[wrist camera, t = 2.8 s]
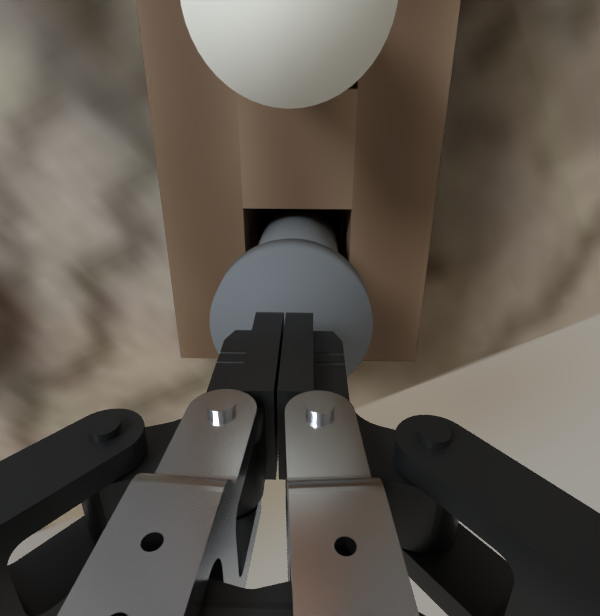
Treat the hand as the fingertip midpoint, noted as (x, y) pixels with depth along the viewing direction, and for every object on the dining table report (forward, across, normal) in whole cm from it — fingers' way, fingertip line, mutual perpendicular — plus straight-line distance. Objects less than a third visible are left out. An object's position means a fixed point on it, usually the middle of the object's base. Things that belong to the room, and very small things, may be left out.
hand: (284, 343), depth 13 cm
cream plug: (+8, 0, -8) cm, 11 cm away
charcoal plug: (+8, 0, 0) cm, 8 cm away
